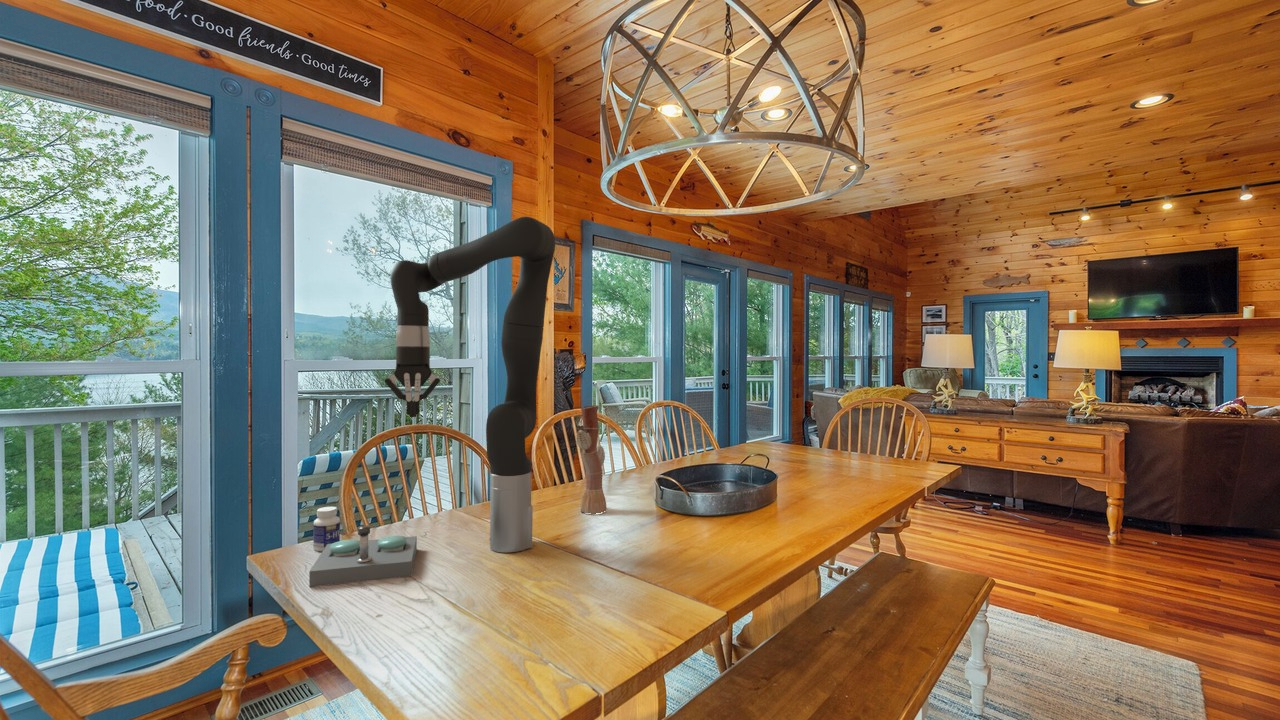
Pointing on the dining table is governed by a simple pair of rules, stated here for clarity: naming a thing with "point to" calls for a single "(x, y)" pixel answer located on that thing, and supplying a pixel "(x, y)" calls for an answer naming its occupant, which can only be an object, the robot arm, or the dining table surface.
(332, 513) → the pill bottle
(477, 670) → the dining table surface
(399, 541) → the knob
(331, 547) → the knob
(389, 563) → the mount board
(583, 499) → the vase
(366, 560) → the post
